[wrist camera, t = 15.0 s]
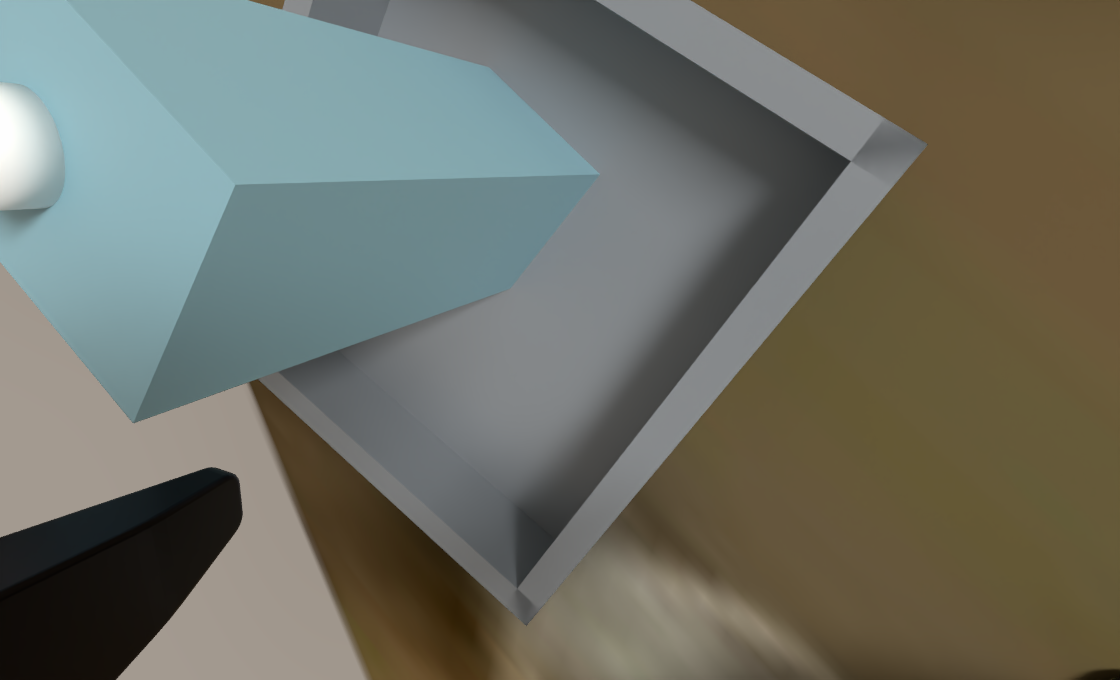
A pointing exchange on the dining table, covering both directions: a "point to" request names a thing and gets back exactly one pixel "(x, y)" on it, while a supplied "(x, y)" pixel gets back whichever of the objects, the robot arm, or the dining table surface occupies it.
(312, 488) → the dining table surface
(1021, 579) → the dining table surface
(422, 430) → the gray square tray
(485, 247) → the carton
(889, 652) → the dining table surface
